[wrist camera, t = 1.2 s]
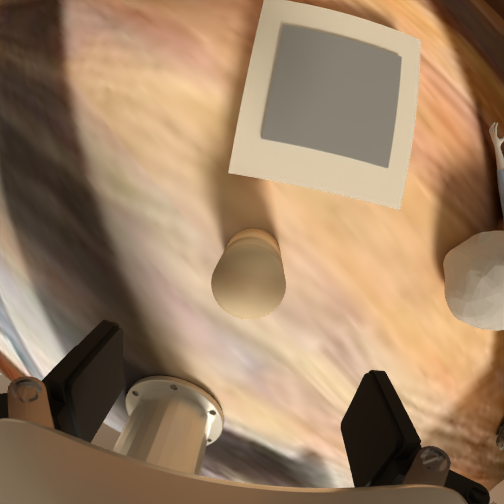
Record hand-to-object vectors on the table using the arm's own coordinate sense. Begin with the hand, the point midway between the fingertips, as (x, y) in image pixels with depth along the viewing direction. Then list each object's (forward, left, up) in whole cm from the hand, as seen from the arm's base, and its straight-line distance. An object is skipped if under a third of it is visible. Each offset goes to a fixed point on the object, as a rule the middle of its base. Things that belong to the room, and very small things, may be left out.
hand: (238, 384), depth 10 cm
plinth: (+15, -4, -18) cm, 24 cm away
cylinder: (0, 0, -18) cm, 18 cm away
